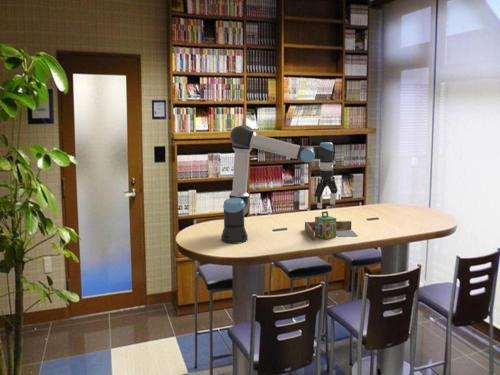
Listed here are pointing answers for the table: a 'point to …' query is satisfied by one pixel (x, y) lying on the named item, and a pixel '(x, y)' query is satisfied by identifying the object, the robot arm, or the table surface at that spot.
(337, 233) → the pad
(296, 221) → the table surface
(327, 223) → the chalk box
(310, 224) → the wooden corner wall
